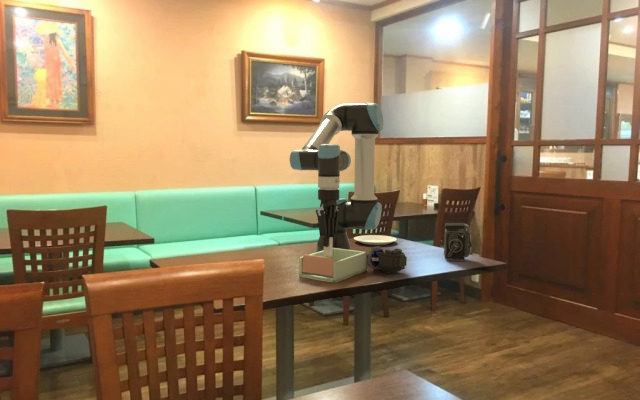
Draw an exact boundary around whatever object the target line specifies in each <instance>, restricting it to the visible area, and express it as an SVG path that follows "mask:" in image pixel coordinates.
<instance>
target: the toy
mask: <svg viewBox="0 0 640 400" xmlns="http://www.w3.org/2000/svg"><path fill="white" fill-rule="evenodd" d="M368 252H369V253H367V264H369V266H370V268H372V269H375V268H377V270H380V271H381V272H382V273H386V274H392V275H396V274H398V272H401V271H402V270H405V269H406V266H407V263H408V262H407V258H408V257H407V256H406V254H405V253H404V252H403V250H402V249H401V248H394V249H393V250H390V249H385V251H384V249H382V248H381V245H376V246H373V247H371V249H370V250H369V251H368Z"/></svg>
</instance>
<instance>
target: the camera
mask: <svg viewBox="0 0 640 400" xmlns="http://www.w3.org/2000/svg"><path fill="white" fill-rule="evenodd" d="M444 227H445V229H444V237H443V238H444V241H443V255H444V259H445V260H446V261H447V262H448V261H457V262H459V261H460V262H465V258H468V257H469V256H471V254H472V247H473V246H472V244H473V243H472V234H471V233H470V232H469V230H470V229H469V228H470V226H469V225H468V224H467V223H465V222H445V223H444Z"/></svg>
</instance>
